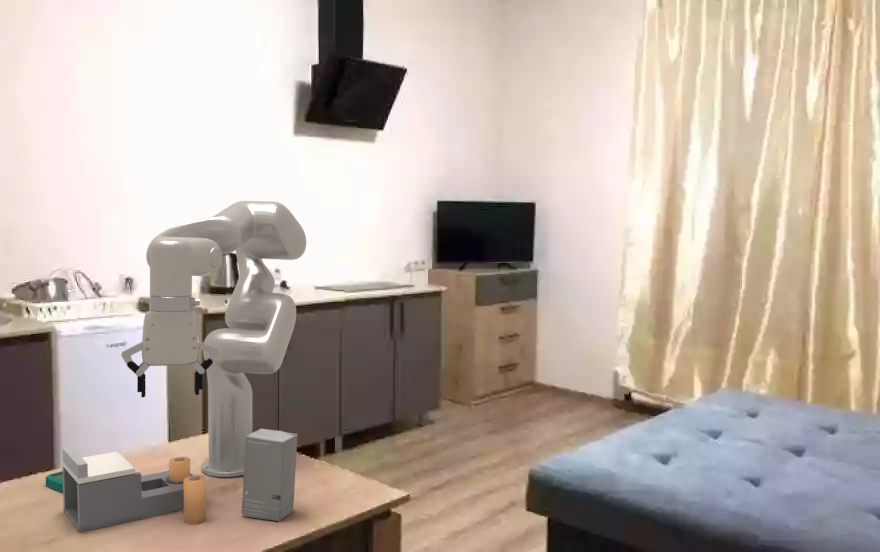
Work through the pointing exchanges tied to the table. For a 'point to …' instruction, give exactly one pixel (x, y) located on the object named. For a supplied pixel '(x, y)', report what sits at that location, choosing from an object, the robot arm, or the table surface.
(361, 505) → the table surface
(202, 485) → the peg
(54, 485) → the digital multimeter
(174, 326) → the robot arm
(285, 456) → the skincare box
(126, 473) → the lid
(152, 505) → the housing
